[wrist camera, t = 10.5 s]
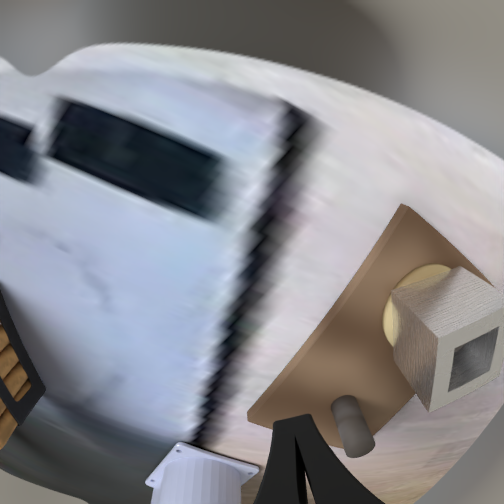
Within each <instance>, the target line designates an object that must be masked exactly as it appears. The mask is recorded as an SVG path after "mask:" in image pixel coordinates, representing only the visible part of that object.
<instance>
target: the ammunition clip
mask: <svg viewBox="0 0 504 504" xmlns="http://www.w3.org/2000/svg"><path fill="white" fill-rule="evenodd" d="M45 391H46V388H45V386H44V384H43V382H42V381H41V379H40V377H39V375H38V373H37V371H36V370H35V368H34V366H33V364H32V362H31V360H30V358H29V356H28V354H27V352H26V350H25V348H24V346H23V344H22V341H21V339H20V337H19V335H18V333H17V330H16V328H15V326H14V323H13V321H12V319H11V316H10V314H9V311H8V309H7V306H6V304H5V301H4V299H3V296H2V293H1V291H0V450H1V449H2V448H3V447H4V445H5V444H6V442H7V440H8V439H9V437H10V436H11V434H12V432H13V431H14V429H15V428H16V426H17V425H18V426H21V425H22V423H23V422H24V420H25V419H26V417H27V416H28V414H29V413H30V411H31V410H32V409H33V407H34V406H35V405H36V403H37V402H38V400H39V399H40V398H41V396H42V395H43V394H44V392H45Z"/></svg>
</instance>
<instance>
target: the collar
mask: <svg viewBox="0 0 504 504" xmlns="http://www.w3.org/2000/svg"><path fill="white" fill-rule="evenodd" d="M391 298H392V318H393V360H394V361H395V363H396V364H397V366H398V367H399V369H400V370H401V372H402V373H403V375H404V376H405V378H406V379H407V381H408V382H409V384H410V385H411V387H412V388H413V390H414V391H415V393H416V394H417V396H418V397H419V399H420V400H421V402H422V403H423V405H424V406H425V408H426V410H427V411H428V413H430V412H432V411H435V410H437V409H439V408H441V407H443V406H445V405H447V404H449V403H451V402H453V401H455V400H457V399H459V398H461V397H463V396H465V395H467V394H469V393H471V392H472V391H474V390H476V389H478V388H480V387H482V386H483V385H485V384H487V383H488V382H490V381H492V380H494V379H495V378H497V377H499V374H500V371H501V367H502V363H503V359H504V293H502V292H501V291H499V290H497V289H496V288H494V287H493V286H491V285H490V284H488V283H487V282H485V281H484V280H482V279H480V278H479V277H477V276H476V275H474V274H472V273H471V272H469V271H468V270H466V269H464V268H463V267H461V266H459V267H457V268H454V269H451V270H449V271H446V272H443V273H440V274H437V275H435V276H432V277H429V278H426V279H423V280H420V281H417V282H414V283H411V284H409V285H406V286H402V287H399V288H396V289H393V290H391ZM463 344H464V346H463V347H462V348H461V349H460V350H458V351H456V352H454V350H455V348H456V347H459V346H461V345H463Z"/></svg>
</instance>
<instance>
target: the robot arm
mask: <svg viewBox="0 0 504 504" xmlns="http://www.w3.org/2000/svg"><path fill="white" fill-rule="evenodd" d="M258 472H259V467H258V466H255V465H251V464H247V463H244V462H240V461H237V460H234V459H230V458H227V457H224V456H221V455H217V454H214V453H211V452H208V451H205V450H203V449H200V448H197V447H194V446H191V445H189V444H186V443H183V442H179V443H177V444H176V445H175V446H174V447H173V448H172V450H171V451H170V452H169V453H168V455H167V456H166V457H165V458H164V459H163V461H162V462H161V463H160V464H159V465H158V466H157V468H156V469H155V470H154V471H153V472H152V474H151V475H150V476H149V477H148V478H147V479H146V482H145V483H146V485H148V486H151V487H153V488H154V490H153V495H152V500H151V504H241V486H242V485H243V484H244V483H245V482H247V481H248V480H249V479H251V478H252V477H253V476H254V475H256V474H257V473H258ZM305 472H306V476H307V479H308V482H309V485H310V488H311V491H312V494H313V497H314V500H315V503H316V504H385V503H384V502H382V501H381V500H380V499H378V498H377V497H376V496H375V495H373V494H372V493H371V492H370V491H369V490H368V489H367V488H365V487H364V486H363V485H362V484H361V483H360V482H359V481H358V480H357V479H356V478H355V477H354V476H353V475H352V474H351V473H350V472H349V471H348V469H347V468H346V467H345V466H344V465H343V464H342V463H341V461H340V460H339V459H338V458H337V456H336V455H335V454H334V452H333V451H332V450H331V448H330V447H329V446H328V444H327V443H326V441H325V440H324V438H323V437H322V435H321V433H320V432H319V430H318V428H317V426H316V424H315V422H314V420H313V417H312V415H311V414H309V413H308V414H304V415H300V416H295V417H291V418H287V419H282V420H278V421H275V422H274V423H273V433H272V442H271V447H270V453H269V457H268V461H267V465H266V469H265V473H264V476H263V479H262V482H261V485H260V488H259V491H258V493H257V496H256V499H255V501H254V503H253V504H308V499H307V489H306V478H305Z"/></svg>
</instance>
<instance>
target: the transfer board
mask: <svg viewBox="0 0 504 504" xmlns="http://www.w3.org/2000/svg"><path fill="white" fill-rule="evenodd" d="M459 266H461V267H463V268H464V269H466V270H468V271H469V272H471V273H472V274H474V275H476V276H477V277H479V278H480V279H482V280H484V281H485V282H487V283H488V284H490V285H491V286H493V285H492V284H491V283H490V282H489V281H488V280H487V279H486V278H485V276H484V275H483V274H482V273H481V272H480V271H479V270H478V269H477V268H476V267H475V266H474V265H473V264H472V263H471V262H470V261H469V260H468V259H467V258H466V257H465V256H464V255H462V254H461V253H460V252H459V251H458V250H457V249H456V248H455V247H454V246H453V245H452V244H451V243H450V242H449V241H448V240H447V239H446V238H444V237H443V236H442V235H441V234H440V233H439V232H438V231H437V230H436V229H434V228H433V227H432V226H431V225H430V224H429V223H428V222H427V221H425V220H424V219H423V218H422V217H421V216H420V215H418V214H417V213H416V212H415V211H414V210H413V209H411V208H410V207H409V206H406V205H404V204H400V206H399V208H398V209H397V211H396V213H395V214H394V216H393V218H392V219H391V221H390V222H389V224H388V226H387V227H386V229H385V230H384V232H383V233H382V235H381V236H380V238H379V240H378V241H377V243H376V244H375V246H374V247H373V249H372V250H371V252H370V253H369V255H368V256H367V258H366V259H365V261H364V262H363V264H362V265H361V267H360V268H359V270H358V271H357V272H356V274H355V275H354V277H353V278H352V280H351V281H350V283H349V284H348V285H347V287H346V288H345V290H344V291H343V292H342V294H341V295H340V297H339V298H338V299H337V301H336V302H335V304H334V305H333V306H332V308H331V309H330V310H329V312H328V313H327V314H326V316H325V317H324V318H323V320H322V321H321V322H320V324H319V325H318V326H317V328H316V329H315V330H314V332H313V333H312V334H311V336H310V337H309V338H308V339H307V341H306V342H305V343H304V345H303V346H302V347H301V348H300V350H299V351H298V352H297V353H296V355H295V356H294V357H293V358H292V360H291V361H290V362H289V363H288V365H287V366H286V367H285V368H284V369H283V371H282V372H281V373H280V374H279V375H278V377H277V378H276V379H275V380H274V381H273V383H272V384H271V385H270V386H269V387H268V389H267V390H266V391H265V392H264V393H263V394H262V396H261V397H260V398H259V399H258V400H257V401H256V402H255V404H254V405H253V406H252V407H251V408H250V409H249V410H248V412H247V418H248V421H249V422H251V423H254V424H257V425H260V426H263V427H266V428H269V429H273V423H274V422H275V421H278V420H282V419H287V418H291V417H295V416H300V415H304V414H308V413H309V414H311V415H312V417H313V420H314V422H315V424H316V426H317V428H318V430H319V432H320V433H321V435H322V437H323V438H324V440H325V441H326V443H327V444H328V445H330V446H334V447H338V448H343V449H344V450H345V453H346V455H347V456H348V457H350V458H357V457H361V456H364V455H366V454H368V453H369V452H370V451H372V450H373V448H374V447H375V441H374V439H373V435H374V434H375V433H376V432H378V431H379V430H380V429H381V428H382V427H383V426H384V425H385V424H386V423H387V422H388V421H389V420H390V419H391V418H392V417H393V416H394V415H395V414H396V413H397V412H398V411H399V410H400V409H401V408H402V407H403V406H404V405H405V404H406V403H407V402H408V401H409V400H410V399H411V398H412V397H413V395H414V394H415V391H414V390H413V388H412V387H411V385H410V384H409V382H408V381H407V379H406V378H405V376H404V375H403V373H402V372H401V370H400V369H399V367H398V366H397V364H396V363H395V361H394V360H393V318H392V298H391V290H393V289H396V288H399V287H402V286H406V285H409V284H411V283H414V282H417V281H420V280H423V279H426V278H429V277H432V276H435V275H437V274H440V273H443V272H446V271H449V270H451V269H454V268H457V267H459ZM493 287H494V286H493ZM494 288H495V287H494ZM463 346H464V344H463V345H461V346H459V347H456V348H455V350H454V352H456V351H458V350H460V349H461V348H462V347H463Z"/></svg>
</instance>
